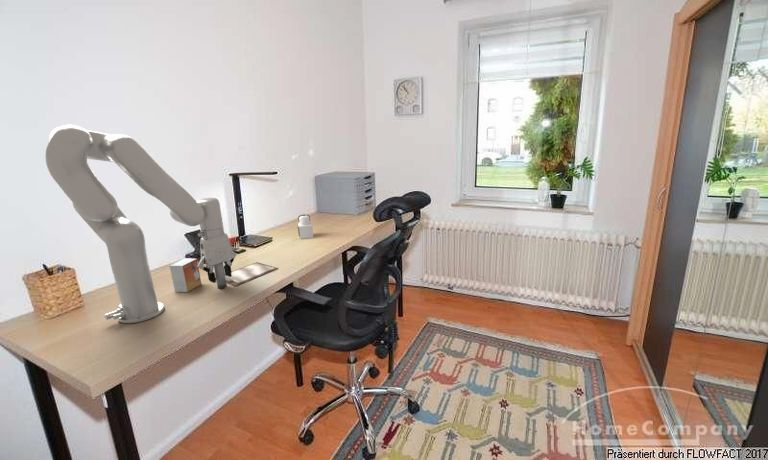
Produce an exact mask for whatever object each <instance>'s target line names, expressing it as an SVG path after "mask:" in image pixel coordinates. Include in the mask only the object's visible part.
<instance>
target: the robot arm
mask: <svg viewBox="0 0 768 460" xmlns="http://www.w3.org/2000/svg"><path fill="white" fill-rule="evenodd" d="M45 148H46V149H45V157H44V158H45V164H46V169H47V170H48V172H49V174H50V176H51V177H52V179H53V180H54V181H55V183H56V184H57V185H58V186H59V188H60V189H61V190H62V191H63V193H64V194H65V195H66V197H68V199H70V201H71V202H72V206H73V208H74V210H75V211H76V212H77V214H78V215H79V216H80V217H81V218H82V220H84V222H85V223H86V224H87V225H88V227H90V229H91V230H92V231H93V232H94V233H95V234H96V236H98V237H99V238H100V240H101V241H103V243H105V245H106V247H107V252H108V253H107V254H108V258H109V263H110V267H111V272H112V274H113V278H114V282H115V285H116V286H115V287H116V289H117V294H118V297H119V302H120V304H119V305H118V304H117V308H116V309H115V310H114V311H109V312H107V313H104V314H103V316H104V318H105V320H106V321H108V320H110V319H112V320H117V319H118V321H119V322H121V323H122V324H133V323H135V324H136V323H140V322H144V321H147V320H151V319H153V318H155V317H157V316H158V315H160V314H161V313H162V312H164V310H165V305H164V303H162V302H160V301H158V300H157V296H156V295H157V294H156V291H155V286H154V282H153V277H152V273H151V268H150V265H149V259H148V255H147V249H146V239H145V234H144V231H143V230H142V228H141V227H140V226H139V225H138V224H137V223H136V222H134V221H133V220H131V219H129V218H128V217H127V216H126V215H125V214H124V212H123V211H122V210H121V208H120V207H119V206H118V203H117V199H115V197H114V196H113V195H112V194H111V192H110V191H108V189H107V188H106V187H105V186H104V185H103V183H102V182H101V181H100V180H99V179H98V177H97V176H96V174H95V173H94V171H93V170H92V169H91V167H90V166H89V163H88V160H94V161H102V162H110V163H114V164H116V165H117V167H119V168H120V169H121V170H122V171H123V172H124V173H125V174H126V175H127V176H129V178H130V179H131V180H132V181H133V182H134V183H135V184H136V185H137V186H138V187H140V189H142V190H143V191H144V192H145V193H147V194H148V195H151V196H152V197H153V198H155V199H157V200H158V201H160V202H161V203H162V204H163V205H165V206H166V207H167V208H168V209H169V214H170V216H171V218H172V219H173V220H174V221H175V222H178V223H180V224H182V225H185V226H187V227H196V226H199V231H200V232H198V233H197V236H198V237H201V238H200V241H199V243H200V244H199V247H200V248H199V250H200V259H199V260H198V265H197V267H198V268H199V270H203V271H204V272H205V273H207V278H208V280H209V282H210V283H213V284H216V283H217V281H216V276H215V271H214V265H217V264H220V263H223V266H224V272H225V275H226V276H229V277H231V276H232V275H231V273H232V268H231V266H232V265H233V262H234V260H235V259H236V257H237V253H236V252H235V251H234V250H233V248H232V243H231V240H230V238H229V236H228V234H227V233H225V229H224V224H223V223H224V222H223V217H222V210H221V204H220V200H219V199H218V198H215V197H206V198H200V199H197V200H196V198H194V197H193V196H192V195H191V194H190V193H189V192H188V191H187V190H186V189H185V188H184V187H183V186H182V185H180V184H179V183H178V182H177V181H176V180H175V179H173V177H171V175H170V174H168V173H167V172H166V171H165V170H164V169H163V167H161V166H160V164H158V163H157V162H156V161H155V159H153V157H152V156H150V155H149V153H148V152H147V151H146V150H145V149H144V148H143V147H142V146H141V145H140V144H139V143H138V141H136V140H135V139H134V138H133V137H131V136H129V135H125V134H110V133H104V132H99V131H93V130H88V129H85V128H83V127H81V126H78V125H74V124H66V125H60V126H58V127H55V128H54V129H53V130H52V131H51V132H50V134H49V141H48V144H47V146H46V147H45ZM204 265H205V266H204Z"/></svg>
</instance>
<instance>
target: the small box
mask: <svg viewBox="0 0 768 460" xmlns="http://www.w3.org/2000/svg"><path fill="white" fill-rule="evenodd" d="M198 263H199V261H198V259H197V258H189V257H188V258H187V257H184V258H183V259H181V260H178V261H176V262H175V263H172V264H169V269H170V271H169V272H170V275H171V279H172V285H173V289H174V292H175V293H177V292H178V293H189V292H190V291H191V290H193V289H195V288H197V287H198V286H201V285H202V279H201V274H200V273H201V272H200V268H198V267H197V265H198Z"/></svg>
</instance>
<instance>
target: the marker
mask: <svg viewBox="0 0 768 460" xmlns="http://www.w3.org/2000/svg"><path fill="white" fill-rule="evenodd" d="M213 271H214V273H215V278H216V286H217V289H219V290H223V289H226V288H227V287H228V285H227V284H228V283H226V278H225V271H224V262H223V263H220V264H217V265H214V267H213ZM225 287H226V288H225Z"/></svg>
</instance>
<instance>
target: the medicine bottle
mask: <svg viewBox="0 0 768 460" xmlns="http://www.w3.org/2000/svg"><path fill="white" fill-rule="evenodd" d="M297 218H298V223H297V231H298V237H299V240H304V239H305V240H306V239H312V238H314V230H313V224H312V222H311V216H310V215H309V214H301V215H298V217H297Z"/></svg>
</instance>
